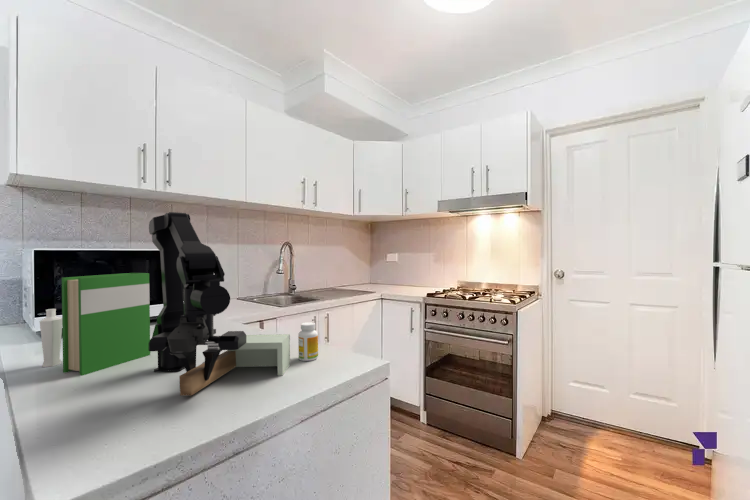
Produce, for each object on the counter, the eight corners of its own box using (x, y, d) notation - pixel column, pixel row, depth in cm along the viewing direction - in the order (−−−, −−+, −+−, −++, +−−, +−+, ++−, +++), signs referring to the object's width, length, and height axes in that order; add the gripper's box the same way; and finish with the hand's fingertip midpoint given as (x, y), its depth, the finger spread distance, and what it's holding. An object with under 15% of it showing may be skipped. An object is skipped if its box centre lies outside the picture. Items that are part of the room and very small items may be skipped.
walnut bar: (180, 395, 71) (179, 375, 71) (226, 366, 89) (226, 351, 89) (191, 395, 71) (190, 375, 71) (236, 366, 88) (235, 350, 88)
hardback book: (81, 375, 85) (80, 278, 85) (63, 372, 88) (61, 277, 88) (150, 354, 102) (149, 273, 102) (132, 352, 104) (131, 272, 104)
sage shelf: (215, 376, 83) (215, 343, 83) (229, 365, 91) (228, 335, 91) (282, 375, 84) (282, 342, 84) (290, 364, 92) (289, 334, 92)
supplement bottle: (320, 355, 99) (320, 321, 99) (315, 361, 94) (314, 325, 94) (302, 355, 100) (301, 321, 100) (295, 361, 94) (295, 325, 94)
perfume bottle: (35, 366, 92) (34, 310, 92) (55, 361, 96) (55, 307, 96) (45, 368, 91) (44, 311, 91) (65, 363, 95) (64, 308, 95)
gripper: (129, 316, 67) (130, 396, 67) (226, 315, 68) (227, 395, 68) (163, 306, 78) (164, 375, 78) (246, 305, 79) (247, 374, 79)
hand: (199, 380), depth 75 cm, fingers closed on walnut bar, 3 cm apart
